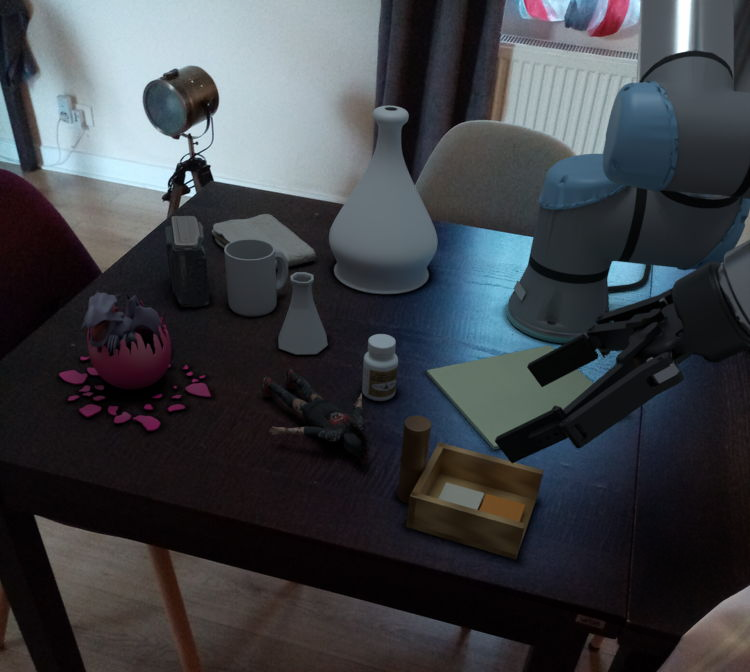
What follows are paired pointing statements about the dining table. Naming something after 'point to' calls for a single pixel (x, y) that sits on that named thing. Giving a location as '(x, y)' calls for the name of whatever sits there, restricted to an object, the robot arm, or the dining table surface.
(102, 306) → the hatching egg
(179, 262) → the camera
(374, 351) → the pill bottle
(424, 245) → the vase
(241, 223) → the washcloth
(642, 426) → the dining table surface
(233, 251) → the cup
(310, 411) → the figurine
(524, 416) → the placemat
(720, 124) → the robot arm
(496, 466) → the open wooden box
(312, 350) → the flask
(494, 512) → the block
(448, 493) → the block
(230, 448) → the dining table surface
